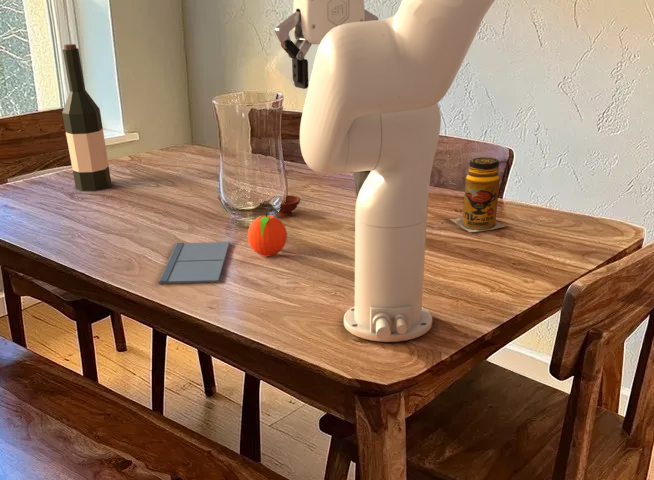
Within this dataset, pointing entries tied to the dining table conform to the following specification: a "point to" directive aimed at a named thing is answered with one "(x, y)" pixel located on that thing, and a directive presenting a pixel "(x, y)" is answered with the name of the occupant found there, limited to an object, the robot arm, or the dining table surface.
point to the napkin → (195, 263)
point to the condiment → (481, 196)
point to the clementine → (267, 235)
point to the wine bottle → (84, 129)
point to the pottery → (286, 206)
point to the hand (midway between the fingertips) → (328, 83)
